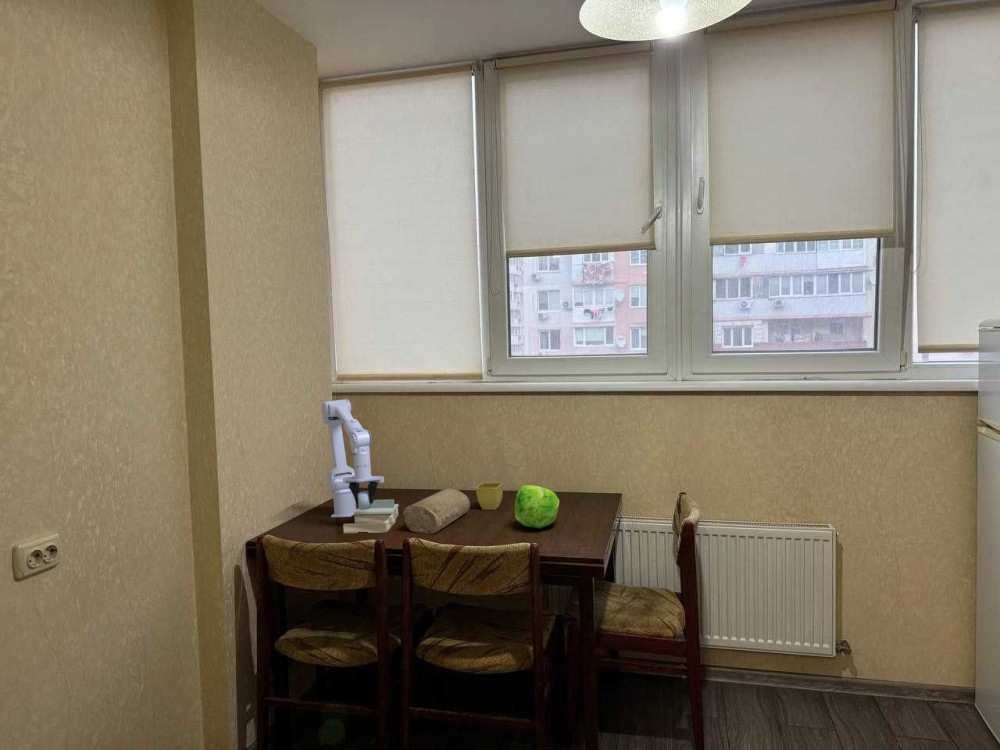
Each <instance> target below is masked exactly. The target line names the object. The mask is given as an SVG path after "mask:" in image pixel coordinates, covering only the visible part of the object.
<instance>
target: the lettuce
mask: <svg viewBox="0 0 1000 750" xmlns="http://www.w3.org/2000/svg"><path fill="white" fill-rule="evenodd" d="M559 506H560V499H559V497H558V496H557V494H556V493H555V492H553V491H552V490H550V489H548V488H545V487H542V486H538V485H531V484H529V485H526V484H525V485H522V486H521V487H520V489H519V490H518V491H517V493H516V497H515V502H514V514H515V515H514V516H515V519H516V521H517V522H518V523H520V524H521V525H522V526H525V527H528V528H531V529H534V528H535V529H540V530H541V529H543V528H545V527H547V526H549V525H551V524H553V523H554V521H555V520H556V518H557V515H558V513H559Z"/></svg>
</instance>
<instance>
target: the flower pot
mask: <svg viewBox="0 0 1000 750" xmlns="http://www.w3.org/2000/svg"><path fill="white" fill-rule="evenodd" d="M474 488H475V493H476V494H475V495H476V499H477V502H478V504H479V506H480V507H481V509H482V510H487V511H488V510H489V511H490V510H493V511H495V510H497V508H499V507H500V505H501V502H502V499H503V496H504V494H503V491H504V482H481V483H480V484H478V485H477V486H476V487H474Z"/></svg>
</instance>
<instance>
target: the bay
mask: <svg viewBox="0 0 1000 750" xmlns="http://www.w3.org/2000/svg"><path fill="white" fill-rule="evenodd" d="M398 517H399V507H397V508H396V510H395V511H394V512H393V513H392V514H354V515H353V518H354V523H343V525H342V526H343V534H359V533H358V532H368V533H367V534H369V533H375V534H376V533H377V534H378V533H387V532H388V531H389V530H390V529H391V528H392V527H393V526H394V524H395V523H396V521H397V520H396V519H397V518H398Z"/></svg>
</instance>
